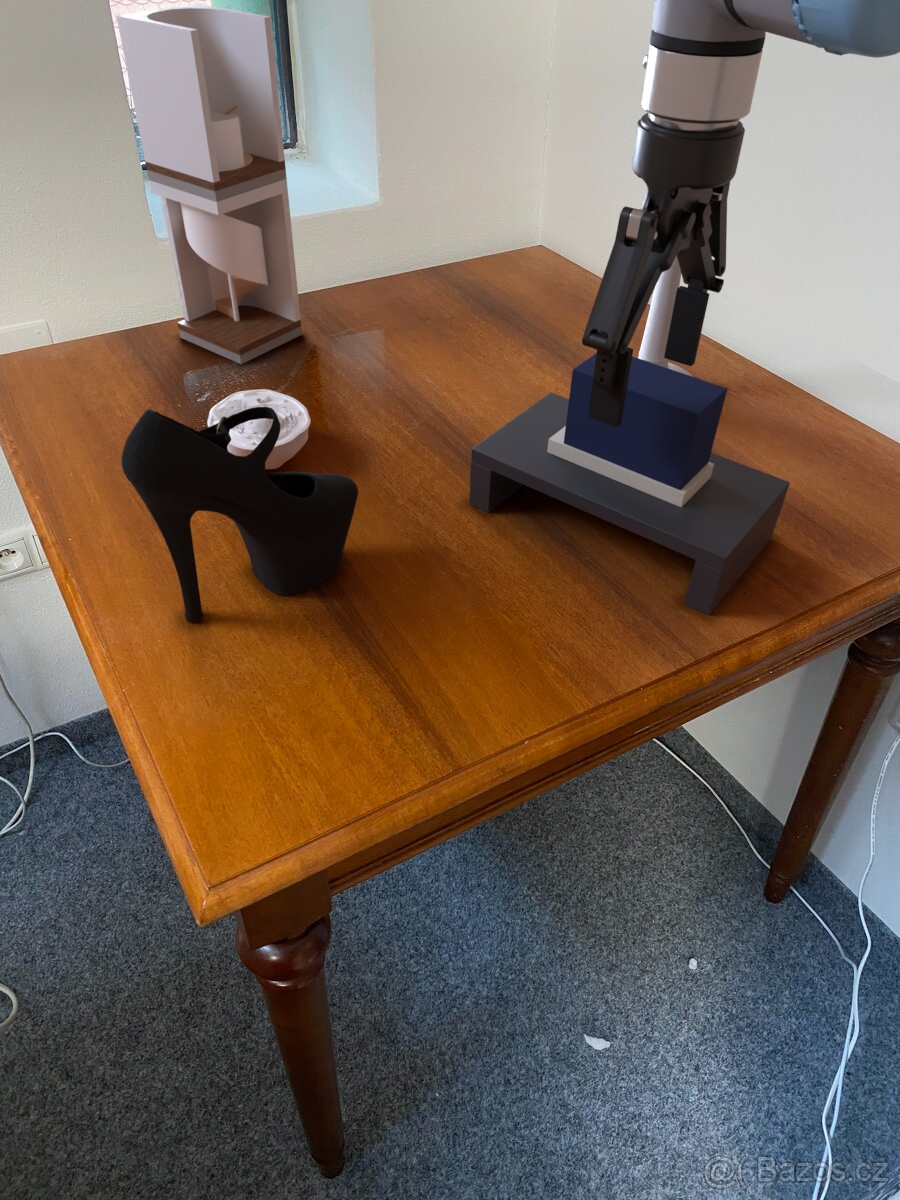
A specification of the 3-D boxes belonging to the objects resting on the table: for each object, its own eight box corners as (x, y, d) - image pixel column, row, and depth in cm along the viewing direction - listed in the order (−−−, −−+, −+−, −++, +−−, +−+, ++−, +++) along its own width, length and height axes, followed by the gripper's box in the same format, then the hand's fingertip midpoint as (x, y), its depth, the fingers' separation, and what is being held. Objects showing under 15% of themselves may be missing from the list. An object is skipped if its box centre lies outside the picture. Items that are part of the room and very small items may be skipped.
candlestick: (590, 363, 110) (628, 94, 90) (693, 367, 110) (754, 99, 90) (597, 415, 101) (641, 128, 80) (709, 421, 100) (781, 133, 80)
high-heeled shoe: (378, 562, 80) (368, 362, 67) (190, 656, 71) (135, 446, 58) (329, 521, 85) (310, 326, 71) (146, 605, 76) (85, 398, 62)
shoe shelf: (771, 537, 84) (790, 481, 80) (708, 615, 76) (726, 558, 72) (545, 445, 96) (550, 391, 91) (468, 504, 87) (471, 448, 83)
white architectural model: (180, 337, 113) (116, 15, 90) (241, 310, 119) (197, 3, 96) (241, 364, 108) (190, 30, 85) (302, 334, 114) (270, 16, 91)
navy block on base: (710, 477, 80) (734, 389, 74) (681, 507, 77) (703, 417, 71) (580, 426, 86) (591, 341, 80) (547, 452, 83) (556, 365, 77)
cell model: (296, 420, 99) (289, 365, 94) (325, 478, 90) (319, 420, 86) (205, 437, 96) (194, 381, 91) (226, 498, 87) (216, 439, 83)
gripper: (718, 79, 71) (670, 328, 85) (552, 144, 56) (528, 433, 70) (808, 94, 68) (743, 350, 82) (658, 166, 53) (610, 465, 67)
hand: (643, 389), depth 76 cm, fingers open, 13 cm apart
